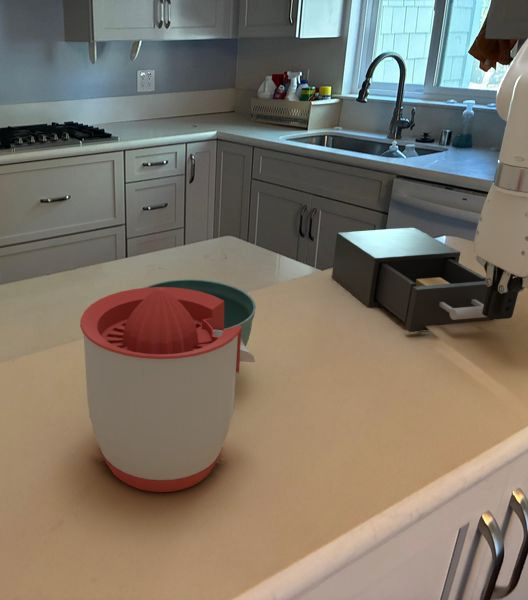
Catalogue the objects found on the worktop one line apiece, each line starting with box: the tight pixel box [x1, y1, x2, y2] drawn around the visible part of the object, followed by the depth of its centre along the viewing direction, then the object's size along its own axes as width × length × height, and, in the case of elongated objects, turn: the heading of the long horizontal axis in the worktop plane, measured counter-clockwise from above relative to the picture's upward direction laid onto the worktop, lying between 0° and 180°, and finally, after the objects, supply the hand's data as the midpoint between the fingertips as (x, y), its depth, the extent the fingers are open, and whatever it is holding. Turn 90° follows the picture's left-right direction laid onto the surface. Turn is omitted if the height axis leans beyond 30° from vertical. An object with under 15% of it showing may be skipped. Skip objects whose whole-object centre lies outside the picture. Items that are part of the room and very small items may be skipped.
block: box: [416, 277, 450, 287], centre depth 95 cm, size 4×4×4 cm
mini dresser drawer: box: [374, 257, 492, 333], centre depth 93 cm, size 17×13×7 cm
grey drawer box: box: [331, 227, 462, 309], centre depth 106 cm, size 14×15×9 cm
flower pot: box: [143, 278, 257, 348], centre depth 80 cm, size 16×16×11 cm
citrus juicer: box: [79, 287, 256, 493], centre depth 63 cm, size 16×17×20 cm
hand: (496, 316), depth 81 cm, fingers closed
